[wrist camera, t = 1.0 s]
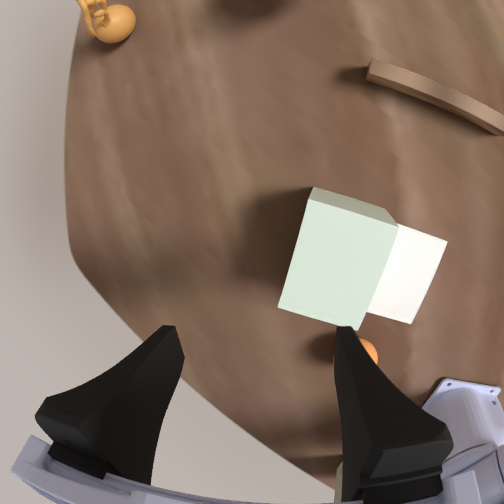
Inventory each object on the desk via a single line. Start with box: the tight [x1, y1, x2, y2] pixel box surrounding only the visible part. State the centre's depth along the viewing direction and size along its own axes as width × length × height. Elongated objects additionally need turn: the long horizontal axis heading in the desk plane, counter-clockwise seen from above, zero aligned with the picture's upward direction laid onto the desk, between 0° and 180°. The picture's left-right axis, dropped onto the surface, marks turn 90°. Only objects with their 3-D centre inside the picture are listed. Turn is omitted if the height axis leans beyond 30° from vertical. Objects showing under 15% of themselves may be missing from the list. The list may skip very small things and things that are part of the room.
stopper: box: [365, 58, 504, 136], centre depth 17 cm, size 12×1×2 cm, turn 78°
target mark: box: [367, 223, 447, 324], centre depth 24 cm, size 8×8×1 cm
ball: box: [333, 338, 378, 366], centre depth 25 cm, size 4×4×4 cm
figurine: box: [76, 0, 136, 43], centre depth 16 cm, size 8×6×12 cm
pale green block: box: [278, 187, 400, 331], centre depth 21 cm, size 6×8×6 cm
